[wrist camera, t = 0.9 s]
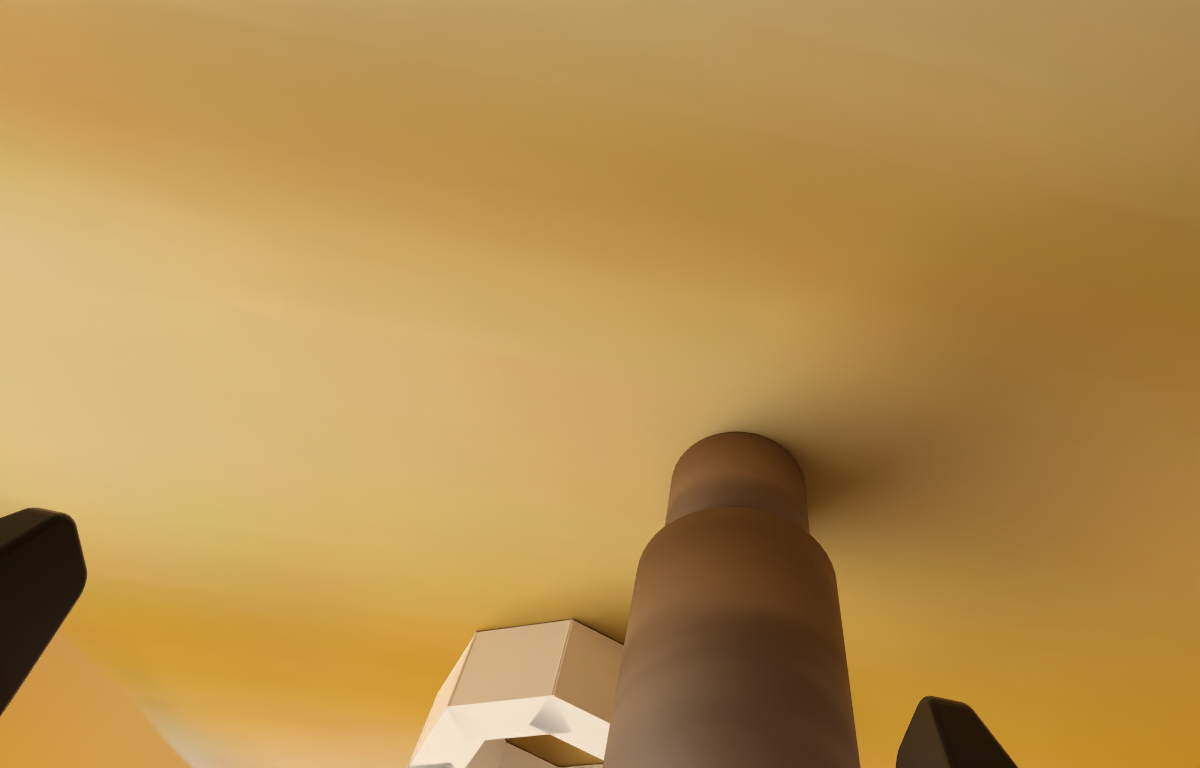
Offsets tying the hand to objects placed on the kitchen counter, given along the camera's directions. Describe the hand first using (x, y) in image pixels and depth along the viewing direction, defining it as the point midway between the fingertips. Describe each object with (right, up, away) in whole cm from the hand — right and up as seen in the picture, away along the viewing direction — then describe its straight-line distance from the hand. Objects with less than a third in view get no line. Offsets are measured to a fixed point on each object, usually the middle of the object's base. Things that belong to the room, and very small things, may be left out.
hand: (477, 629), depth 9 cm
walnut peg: (+5, 0, +15) cm, 15 cm away
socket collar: (0, -9, +20) cm, 22 cm away
